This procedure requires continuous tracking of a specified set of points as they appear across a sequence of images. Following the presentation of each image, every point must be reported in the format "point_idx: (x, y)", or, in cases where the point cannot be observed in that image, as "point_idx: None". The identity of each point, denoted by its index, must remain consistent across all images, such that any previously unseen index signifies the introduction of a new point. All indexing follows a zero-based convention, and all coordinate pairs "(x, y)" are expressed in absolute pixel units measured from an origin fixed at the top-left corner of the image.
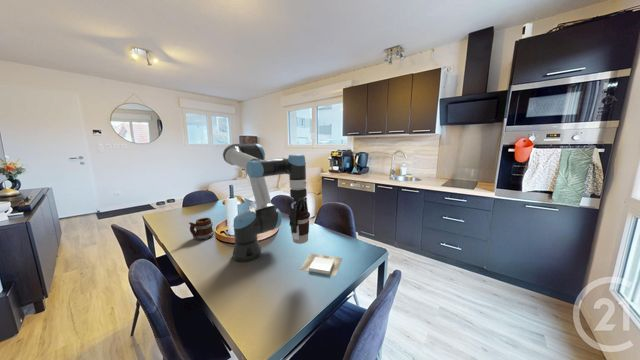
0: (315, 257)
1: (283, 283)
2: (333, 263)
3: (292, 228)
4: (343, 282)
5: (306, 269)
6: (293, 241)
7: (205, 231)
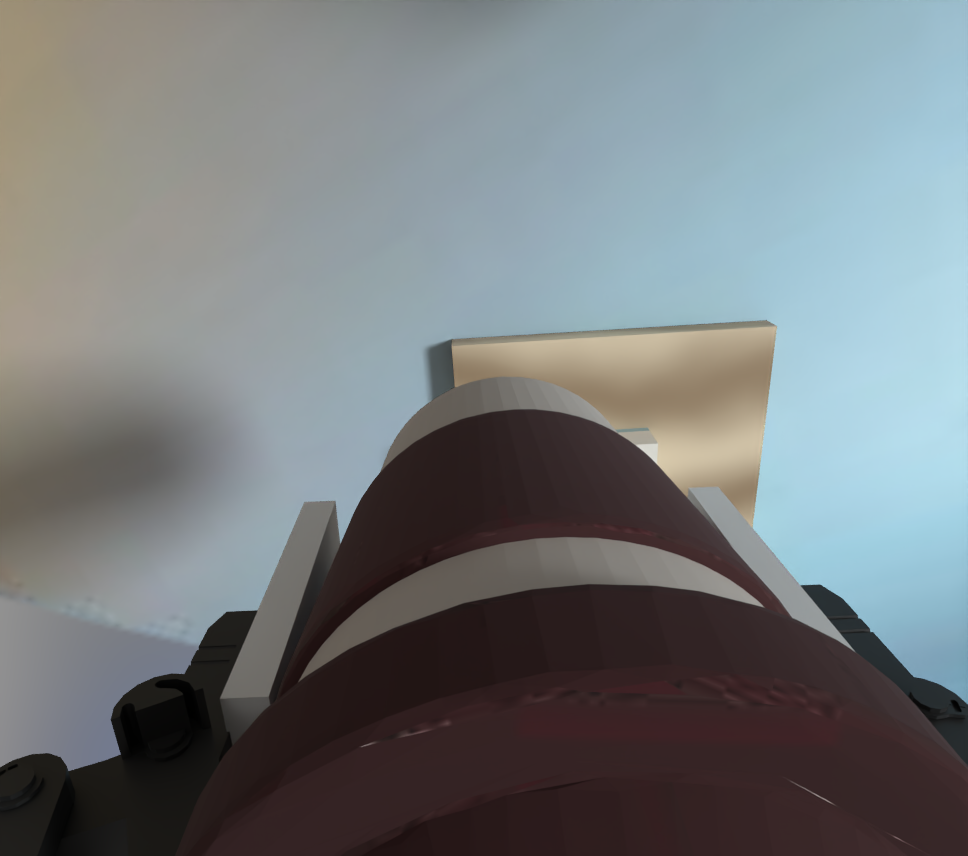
0: (646, 448)
1: (240, 282)
2: None
3: (246, 637)
4: None
5: None
6: (407, 422)
7: None
